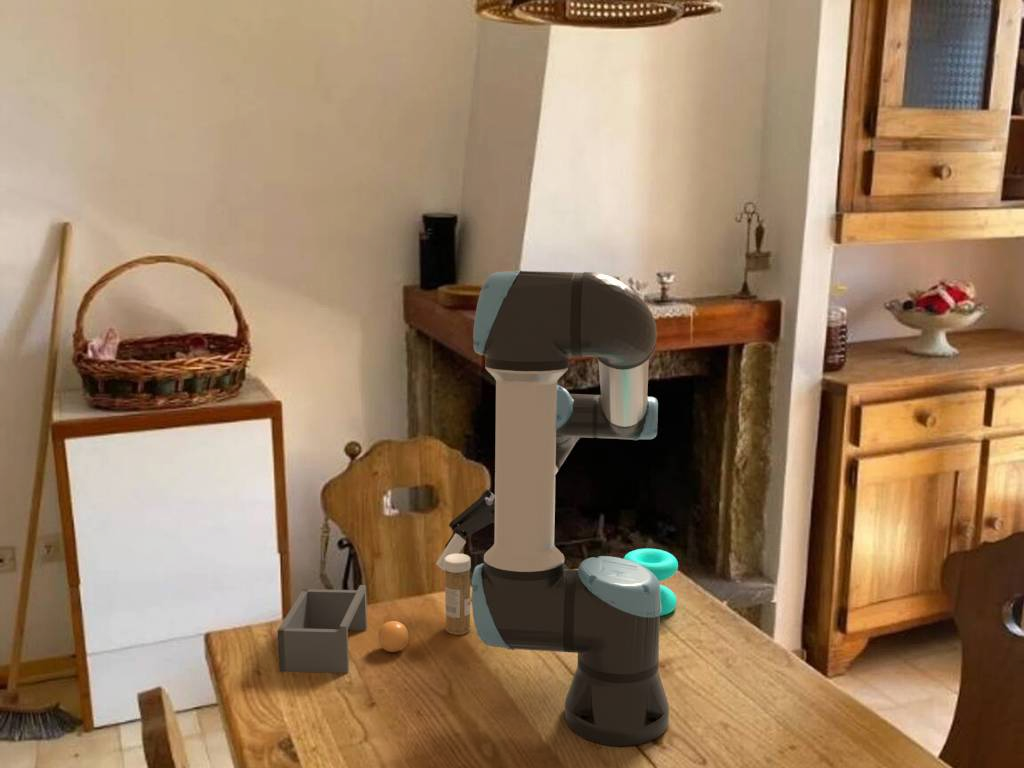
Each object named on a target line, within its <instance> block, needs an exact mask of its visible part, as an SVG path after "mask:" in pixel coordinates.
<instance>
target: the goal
mask: <svg viewBox="0 0 1024 768" xmlns="http://www.w3.org/2000/svg"><path fill="white" fill-rule="evenodd" d="M367 608H368V607H367V586H366V584H360V585H359V586H358V588H357V590H356V589H318V588H317V589H314V588H313V589H312V588H311V589H310V588H304V589H302V591H301V592H300V594H299V595H298V596H297V598H296V600H295V602H294V603H293V605H292V607H291V608H290V610H289V611H288V613H287V615H286V616H285V618H284V619H283V620H282V622H281V624H280V626H279V627H278V629H277V631H276V634H277V651H278V671H279V672H290V673H291V672H292V673H293V672H294V673H296V672H297V673H329V674H330V673H332V674H333V673H334V674H335V673H337V674H348V673H349V670H350V664H349V663H350V661H349V660H350V659H349V632H348V631H367V629H368V616H367V615H368V613H367V611H368V609H367Z"/></svg>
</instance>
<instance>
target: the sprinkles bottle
mask: <svg viewBox="0 0 1024 768" xmlns="http://www.w3.org/2000/svg"><path fill="white" fill-rule="evenodd" d="M471 559H472V558H471V557H470V556H469V555H468V554H466V553H465V554H464V553H459V554H451V555H448V556H446V557H445V559H444V569H445V571H444V572H445V579H444V581H445V584H444V593H445V594H444V596H445V597H444V598H445V599H444V600H445V601H444V603H445V621H446V622H445V623H446V624H445V625H446V626H445V631H446V632H447V633H449V634H450V635H454V636H460V635H465V634H468V633H469V632H470V631H471V630H472V624H471V607H472V606H471V585H470V584H471V583H470V582H471V579H470V573H471V571H470V570H471V568H472V566H471V564H472V563H471V562H472V561H471Z"/></svg>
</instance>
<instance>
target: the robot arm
mask: <svg viewBox="0 0 1024 768" xmlns="http://www.w3.org/2000/svg"><path fill="white" fill-rule="evenodd" d="M472 334H473V335H472V339H473V350H474V352H475V353H476V354H478V355H479V356H484V358H485V359H484V361H485V363H484V365H485V370H486V371H487V372H488V373H489V374H490V375H491V376H492V377H493V378H494V380H495V446H494V447H495V448H494V449H495V450H494V451H495V453H494V454H495V456H494V457H495V458H494V459H495V460H494V467H495V468H494V471H495V472H494V493H493V492H492V491H490V489H486V490H485V491H484V492H483V493H482V494H481V496H480V497H479V498H478V499H477V500H475V502H473V503H472V504H470V505H469V506H468V507H467V508H466V509H465V510H464V511H462V512H461V513H459V515H457V516H456V517H455V518H454V519H453V520H452V521H450V522H449V524H448V527H450V528H451V530H452V532H453V533H452V535H451V536H450V538H448V539H449V540H448V541H447V542H446V544H445V546H444V550H443V552H442V553H441V554H440V556H439V557H438V560H437V561H436V563H435V565H436V566H437V567H439V568H440V569H441V570H443V571H444V572H445V569H444V559H445V557H446V556H448V555H451V554H460V552H461V550H462V549H463V548H464V546H465V544H466V543H467V541H466V540H467V539H466V538H468V537H469V536H471V535H473V534H475V533H476V532H479V531H480V530H481V529H483V528H485V527H487V526H489V525H490V524H494V540H493V541H494V543H493V545H492V546H491V547H490V548H489V549H488V550H487V551H486V552H485V553H484V555H483V563H479V564H477V565H476V566H475V567H474V570H473V573H472V578H471V589H472V592H471V607H472V616H473V623H474V626H475V630H476V633H477V636H478V637H479V639H480V641H482V643H483V644H485V645H486V646H488V647H493V648H495V647H496V648H501V649H502V648H504V649H506V650H510V651H514V650H524V651H542V652H558V653H574V654H577V666H576V670H575V672H574V675H573V678H572V680H571V682H570V686H569V688H568V691H567V694H566V696H565V700H564V719H565V722H566V724H567V725H568V727H569V728H570V729H571V730H572V732H574V733H575V734H577V735H579V736H580V737H581V738H584V739H585V740H588V741H590V742H594V743H598V744H602V745H607V746H612V747H613V746H614V747H629V746H631V747H632V746H638V745H643V744H647V743H649V742H652V741H654V740H656V739H658V738H660V737H661V736H662V735H663V734H664V733H665V732H666V731H667V729H668V727H669V723H670V722H669V721H670V705H669V702H668V699H667V696H666V695H667V694H666V691H665V688H664V685H663V682H662V679H661V676H660V673H659V661H660V660H659V659H660V658H659V656H660V618H661V616H660V614H661V612H662V605H661V600H660V585H661V584H660V581H658V579H657V578H656V576H655V575H654V574H653V573H652V572H651V571H650V570H649V569H647V568H645V567H643V566H642V565H640V564H638V563H636V562H633V561H630V560H627V559H624V558H621V557H618V556H617V557H616V556H611V555H610V556H608V555H600V556H599V555H598V556H596V557H593V556H592V557H588V558H586V559H584V560H582V562H581V563H580V564H579V566H578V568H577V569H568V568H565V556H564V554H563V553H562V552H561V551H560V550H559V549H558V548H557V547H556V545H555V519H556V518H555V515H556V514H555V512H556V475H557V473H558V472H559V470H560V469H561V466H562V465H563V464H564V462H565V461H566V459H567V457H568V456H569V455H570V453H571V451H572V450H573V448H574V446H575V445H576V443H578V441H579V440H580V439H581V438H590V439H594V438H596V439H613V440H614V439H616V440H617V439H618V440H632V441H638V440H653V439H655V438H656V437H657V435H658V421H659V419H658V416H659V415H658V414H659V413H658V412H659V409H658V408H659V402H658V399H657V398H656V397H654V396H648V389H649V387H648V384H649V365H650V364H649V361H650V359H651V357H652V356H653V354H654V352H655V350H656V347H657V342H658V341H657V340H658V339H657V338H658V328H657V324H656V319H655V318H654V315H653V312H652V311H651V310H650V308H649V306H648V305H647V304H646V302H645V301H644V300H643V298H642V297H640V295H639V294H638V293H636V291H634V290H633V289H632V288H630V287H629V285H627V284H625V283H623V281H620V280H618V279H617V278H615V277H612V276H610V275H608V274H603V273H599V272H595V271H594V272H593V271H592V272H591V271H588V272H587V271H584V272H578V271H577V272H576V271H573V272H572V271H538V270H536V271H533V270H532V271H530V270H520V269H518V270H510V271H498V272H493V273H491V274H490V275H489V276H488V277H486V278H485V280H484V282H483V284H482V286H481V290H480V291H479V296H478V300H477V304H476V310H475V315H474V324H473V333H472ZM569 357H572V358H573V357H575V358H576V357H578V358H582V357H587V358H588V357H590V358H596V360H597V361H598V372H599V373H598V374H599V385H600V387H599V388H600V394H583V393H582V394H581V393H570V392H569V391H568V390H567V389H566V388H564V387H563V386H561V385H559V384H558V381H559V380H560V378H561V377H562V376H563V375H564V374H565V373H566V372H567V371H568V370H569Z"/></svg>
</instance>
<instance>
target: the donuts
mask: <svg viewBox="0 0 1024 768" xmlns="http://www.w3.org/2000/svg"><path fill="white" fill-rule="evenodd" d="M623 559H627V560H630V561H633V562H636V563H638V564H640V565H642V566H643V567H645V568H647V569H649V570H650V571H651V572H652V573H653V574H654V575H655V576H656V578H657V579H658V581H659V582H660V581H665V580H668V579H670V578H672V577H673V576H674V575H675V574H676V573H677V571H678V569H679V563H678V559H677V558H676V557H675V556H674V555H673V554H672V553H670V552H668V551H666V550H662V549H657V548H637V549H635V550H634V549H633V550H632V551H629V552H627V553H626V554H625V556H624V557H623ZM660 600H661V605H662V612H661V614H660V617H662V616H665V615H668V614H670V613H672V612H673V611H674V610H675V608H676V607H677V596H676V595H675V593H674V592H673V591H672V590H671V589H670V588H668V587H667V586H665V585H662V584H660Z"/></svg>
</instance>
